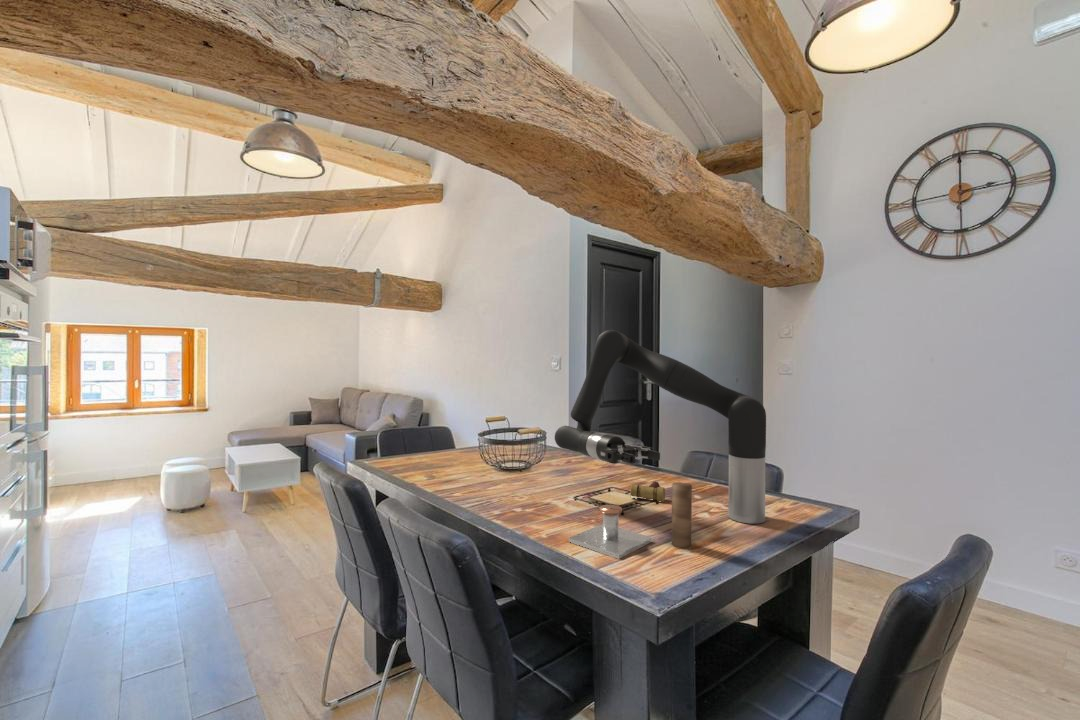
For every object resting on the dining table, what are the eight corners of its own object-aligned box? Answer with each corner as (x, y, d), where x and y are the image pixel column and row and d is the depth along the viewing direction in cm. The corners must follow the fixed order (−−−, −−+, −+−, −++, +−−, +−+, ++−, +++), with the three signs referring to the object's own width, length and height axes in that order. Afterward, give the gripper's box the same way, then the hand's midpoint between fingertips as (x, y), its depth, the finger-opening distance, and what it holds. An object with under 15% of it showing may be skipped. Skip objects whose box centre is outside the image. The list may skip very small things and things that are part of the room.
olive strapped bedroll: (642, 475, 169) (671, 478, 165) (642, 488, 169) (671, 491, 165) (630, 485, 150) (663, 488, 146) (630, 500, 150) (663, 504, 146)
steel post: (603, 527, 124) (603, 496, 124) (652, 541, 114) (652, 507, 114) (568, 542, 114) (569, 508, 114) (618, 558, 104) (619, 521, 104)
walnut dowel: (677, 539, 116) (677, 481, 116) (694, 544, 113) (695, 484, 113) (668, 544, 112) (668, 484, 112) (686, 550, 109) (686, 488, 109)
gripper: (585, 435, 132) (626, 445, 118) (625, 432, 140) (667, 441, 126) (585, 463, 132) (625, 476, 118) (624, 458, 140) (666, 470, 126)
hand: (646, 458), depth 122 cm, fingers open, 8 cm apart
